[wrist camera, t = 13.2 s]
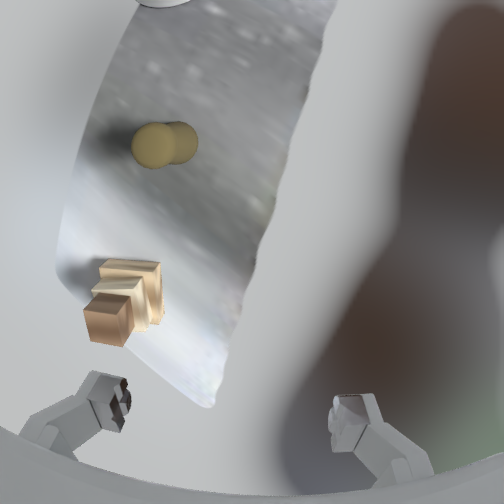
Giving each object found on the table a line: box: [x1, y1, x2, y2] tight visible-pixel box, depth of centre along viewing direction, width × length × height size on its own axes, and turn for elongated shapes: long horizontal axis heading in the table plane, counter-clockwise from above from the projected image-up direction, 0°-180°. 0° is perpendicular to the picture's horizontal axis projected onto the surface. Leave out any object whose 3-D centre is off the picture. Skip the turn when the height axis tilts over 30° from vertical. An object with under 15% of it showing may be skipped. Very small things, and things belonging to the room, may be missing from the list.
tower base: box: [99, 259, 165, 325], centre depth 47 cm, size 9×9×4 cm
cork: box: [131, 121, 198, 169], centre depth 35 cm, size 6×6×11 cm
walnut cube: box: [83, 292, 135, 347], centre depth 39 cm, size 5×5×5 cm
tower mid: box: [91, 276, 153, 332], centre depth 43 cm, size 7×7×4 cm
